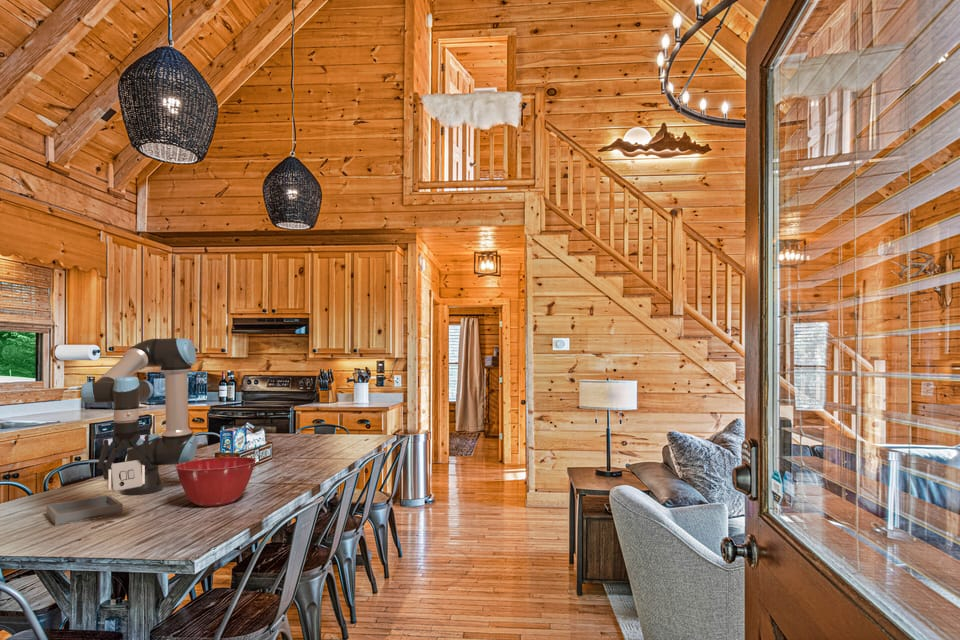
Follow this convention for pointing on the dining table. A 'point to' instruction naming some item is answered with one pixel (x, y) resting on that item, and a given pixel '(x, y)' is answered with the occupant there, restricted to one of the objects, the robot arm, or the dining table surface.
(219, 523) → the dining table surface
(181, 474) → the mixing bowl
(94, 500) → the parts tray
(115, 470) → the electrical switch
